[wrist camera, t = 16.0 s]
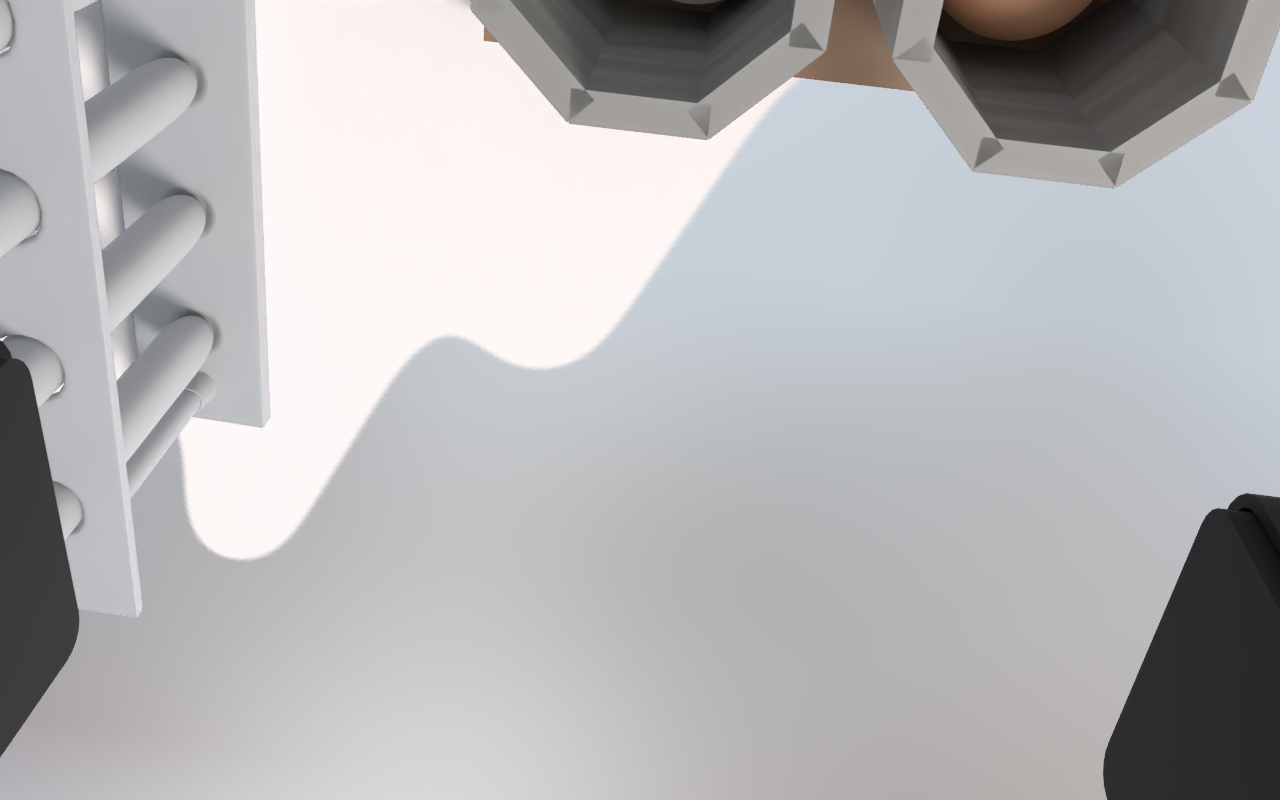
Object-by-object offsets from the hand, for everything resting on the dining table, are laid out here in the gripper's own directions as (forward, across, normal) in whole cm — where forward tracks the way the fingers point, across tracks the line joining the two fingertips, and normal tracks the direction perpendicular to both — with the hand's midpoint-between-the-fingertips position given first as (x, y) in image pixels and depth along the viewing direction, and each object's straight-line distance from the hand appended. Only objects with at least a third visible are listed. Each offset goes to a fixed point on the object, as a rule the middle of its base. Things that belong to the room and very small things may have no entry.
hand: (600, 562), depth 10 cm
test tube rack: (+29, +16, +6) cm, 33 cm away
